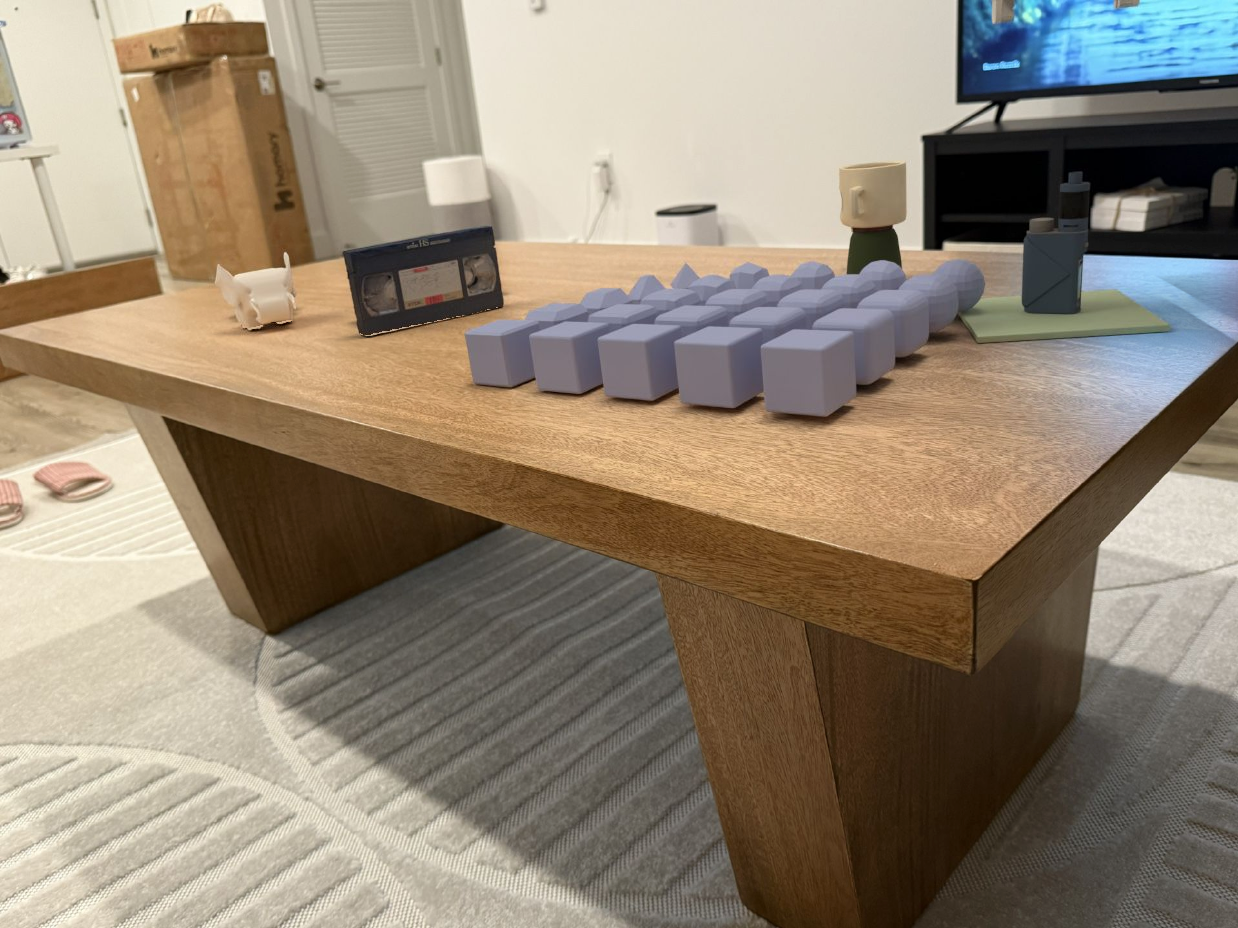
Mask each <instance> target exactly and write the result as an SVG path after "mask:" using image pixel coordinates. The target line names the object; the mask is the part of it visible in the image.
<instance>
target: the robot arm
mask: <svg viewBox="0 0 1238 928" xmlns="http://www.w3.org/2000/svg"><path fill="white" fill-rule="evenodd" d="M989 1H990V2H991V3H992V4H991V23H992V25H996V24H1004V23H1011V22H1014V20H1015V11H1014V7H1015V3H1016V0H989ZM1140 2H1141V0H1113V9H1114V10H1118V9H1121V10H1122V9H1129V8H1135V7H1138V6H1139V5H1140Z"/></svg>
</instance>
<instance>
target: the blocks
mask: <svg viewBox="0 0 1238 928" xmlns="http://www.w3.org/2000/svg"><path fill="white" fill-rule="evenodd" d="M985 282H986V281H985V276H984V274H983V272H982V269H980V267H979V266H978V265H977V264H976V263H973V262H972V261H970V260H968V259H962V258H957V259H951V260H950V259H949V260H947V261H945V262H943V263H941V264H940V265H939V266H938V267H937V268H936V269H935V270H934V271H933V273H922V274H921V273H920V274H916V275H914V276H912V277H910V278H907V275H906V272H905V271H904V269H903V267H902V268H901V267H900V266H898V265H897V264H896V263H894V262H890V261H885V260H879V261H875V262H871V263H870V264H868V265H867V266H866V267H864V268H863V269H862V271H861V272H860V274H847V273H845V274H841V275H840V274H839V275H835V272H834V270H833V269H832V268H831V267H830V266H829V264H825V263H822V262H818V261H814V260H813V261H812V260H810V261H807V262H804V263H801V264H799V265H798V267H797V268H796V269H795V270H794V271H793V272H792V273H791V274H790V275H788V274H771V275H770V273H769V270H768V268H765V267H763V266H760V265H757V264H754V263H752V262H749V261H747V262H745V263H742V264H741V265H738V266H737V267H735V268H733V270H732V271H731V272H730V274H729V277H728V278H727V277H724V276H721V275H719V274H707V275H704V276H702V277H700V276H699V274H697V272H695V271H694V269H692V268H691V266H690V265H689V264H688V263H687V262H685V263H684V264H683V266H682V267H681V268H680V270H679V271H678V272H677V274H676V276H675V277H674V278H673V280H672V281H671V282H670V283H669V286H670V287H671V288H666V287H665V286H664V285H663V284H662V283H661V282H660V280H659V279H658V278H657V277H656V276H655V275H654V274H645V275H641V276H640V277H639V278H638V280H637V281H636V282H635V284H634V285H633V287H632V288H631V290H630V291H629V293H628V294H627V293H626V292H625V290H623V289H622V288H621V287H601V288H597V289H595V290H592V291H589V292H586V293H585V295H584V296H583V298H581V299H582V300H581V301H580V302H579V303H577V302H574V303H573V302H552V303H550V304H546V305H543V306H540V307H538V308H534V309H531V310H529V312H528V313H527V315H526V317H525V318H524V319H505V318H501V319H497V320H494V321H491V322H488V323H486V324H485V323H484V324H482V325H480V326H475V327H473V328H471V329H468V330H465V331H464V338H465V345H466V350H467V354H468V355H467V356H468V360H469V366H470V372H471V378H472V383H473V384H474V385H477V386H478V385H480V386H489V387H500V388H509V389H510V388H513V387H516V386H518V385H521V384H523V383H526V382H528V381H530V380H533V379H535V384H536V389H537V390H538V391H544V392H556V393H565V394H576V395H581V394H583V393H586V392H587V391H590V390H592V389H594V388H596V387H598V386H599V387H600V386H601V385H603V393H604V396H605V397H608V398H618V399H628V400H639V401H640V400H641V401H650V402H652V401H655V400H657V399H659V398H662V397H663V396H665V395H667V394H669V393H671V392H674V391H675V390H677V389H678V394H679V402H680V403H681V404H683V405H693V406H703V407H704V406H705V407H715V408H727V409H735V408H737V407H739V406H741V405H742V404H744V403H746V402H748V401H749V400H751V399H753V398H755V397H757V396H759V395H760V394H761V393H763V398H764V410H765V411H766V412H768V413H769V412H770V413H778V414H779V413H780V414H790V415H801V416H811V417H812V416H813V417H823V418H824V417H825V418H826V417H828V416H829V415H831V414H833V413H835V412H836V411H837V410H839V409H841V408H842V407H844V406H845V405H846V404H848V403H850V402H851V401H852V400H854V399H855V398H856V397H857V385H864V386H866V385H871V384H873V383H874V382H876V381H878V380H879V379H880V378H882V377H883V376H885V375H886V374H889V372H891V371H892V370H893V369H894V367H895V366H896V358H906V357H908V356H910V355H912V354H913V353H915V352H917V351H918V350H920V349H921V348H923V347H924V346H925V345H926V344H927V342H928V340H929V339H930V338H929V337H930V334H931V333H938V332H939V331H942V330H944V329H946V328H948V326H949V325H951V324H952V323H953V321H954V320H955V318H956V316H957V315H958V313H957V312H962V311H966V310H968V309H970V308H972V307H974V306H975V305H976V304H977V303H978V302H979V300H980V298H982V297H983V295H984V293H985V288H986V287H985V286H986V283H985Z"/></svg>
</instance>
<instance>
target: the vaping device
mask: <svg viewBox="0 0 1238 928" xmlns="http://www.w3.org/2000/svg"><path fill="white" fill-rule="evenodd" d="M1090 191H1091V182H1089V181H1083V171H1072V172H1071V171H1070V172H1068V182H1064V183H1061V184H1060V185H1059V201H1058V221H1057V222H1058V225H1057V227H1056V228H1055V218H1054V217H1037V218H1036V217H1035V218H1031V219H1029V230H1027V231H1026V235H1025V236H1024V239H1023V247H1022V279H1021V282H1022V283H1021V296H1022V305H1023V307H1024V311H1025V312H1027V313H1039V314H1073V313H1077V312H1079V311H1081V291H1082V289H1083V288H1082V287H1083V272H1084V271H1083V270H1084V256H1085V253H1087V252H1088V247H1089V212H1090V209H1089V208H1090V197H1091V196H1090V195H1091V194H1090Z"/></svg>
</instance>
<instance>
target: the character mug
mask: <svg viewBox="0 0 1238 928" xmlns="http://www.w3.org/2000/svg"><path fill="white" fill-rule="evenodd" d="M838 170H839V171H838V172H839V174H838V175H839V176H838V177H839V178H838V179H839V183H838V190H839V193H840V197H841V208H840V209H841V210H840V215H839V220H840V222H841V223H842V225H844V226H846V227H849V228H850V230H851V233H852V234H851V236H850V238H849V245H848V254H847V260H846V261H847V262H846V274H860V272H861V271H862V269H863V268H864V267H866V266H867V265H868V264H870V263H871V262H875V261H879V260H885V261H890V262H894V263H896V264H897V265H898V266H900V267H901V268H902V269H903V262H902V255H901V249H900V248H901V247H900V244H899V243H900V241H899V236H898V233H897V231H896V230H895V228H894V226H895V225H899V224H901V223H904V222H905V221H906V220H907V162H905V161H902V160H901V161H899V160H896V161H895V160H887V161H875V162H866V163H857V164H850V165H845V166H841V167H839V169H838Z"/></svg>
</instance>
